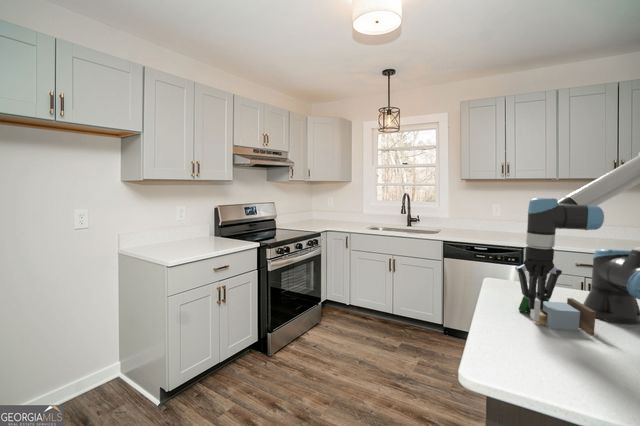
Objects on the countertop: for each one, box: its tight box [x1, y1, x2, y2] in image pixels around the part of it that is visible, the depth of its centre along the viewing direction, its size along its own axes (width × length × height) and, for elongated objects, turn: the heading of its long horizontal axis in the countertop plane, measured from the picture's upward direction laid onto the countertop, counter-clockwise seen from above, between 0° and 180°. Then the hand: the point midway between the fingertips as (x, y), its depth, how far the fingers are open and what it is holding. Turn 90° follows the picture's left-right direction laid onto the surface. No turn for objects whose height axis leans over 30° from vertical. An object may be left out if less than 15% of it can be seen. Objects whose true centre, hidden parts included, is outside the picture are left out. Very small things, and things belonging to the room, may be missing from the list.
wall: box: [566, 297, 596, 335], centre depth 106 cm, size 2×12×7 cm, turn 171°
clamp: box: [518, 291, 550, 313], centre depth 118 cm, size 12×6×9 cm
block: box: [540, 301, 580, 332], centre depth 107 cm, size 8×8×6 cm
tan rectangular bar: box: [533, 312, 548, 326], centre depth 108 cm, size 7×3×3 cm, turn 81°
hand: (534, 318), depth 108 cm, fingers closed
